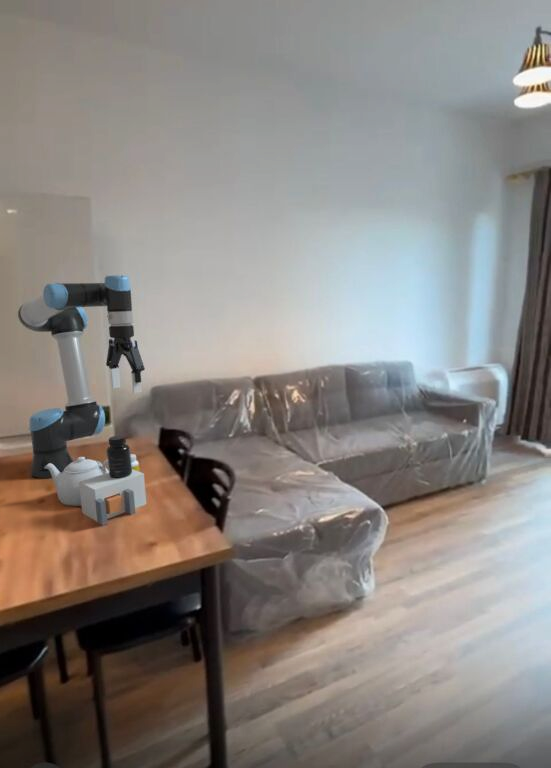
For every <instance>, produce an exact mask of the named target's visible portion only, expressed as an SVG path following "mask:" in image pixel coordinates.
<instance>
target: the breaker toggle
mask: <svg viewBox="0 0 551 768" xmlns="http://www.w3.org/2000/svg"><path fill="white" fill-rule="evenodd" d="M104 501H105V504H106V512H108V513H109V514H112V513H115V512H117V511H120V510H123V506H122V497H121V496H119V495H117V494H116V495H113V496H110V497H107V498H104Z"/></svg>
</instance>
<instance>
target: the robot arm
mask: <svg viewBox="0 0 551 768" xmlns="http://www.w3.org/2000/svg"><path fill="white" fill-rule="evenodd" d="M129 278H130V277H129V276H127V275H119V274H118V275H106V276H105V277H104V282H87V283H86V282H81V283H80V282H79V283H75V282H73V283H70V282H69V283H67V282H65V283H64V282H63V283H60V282H54V283H48V284H47V283H46V284H45V285H44V289H43V291H42V294H41V295H40V296H39V297H37V298H36V299H33V300H28V301H25V302H24V303H22V305H21V306H20V307H19V309H18V310H17V316H18V320H19V322H20V323H21V325H22V326H23V327H24V328H26V329H29V330H31V331H34V332H36V333H37V332H39V333H47V332H50V333H51V338H53V339H54V340H56V343H57V348H58V354H59V359H60V364H61V369H62V374H63V380H64V384H65V391H66V395H67V402H66V404H65V405H64V407H65V408H64V409H65V410H63V409H62V408H61V407H54V408H48V409H44V410H39V411H38V412H36V413H33V414H32V415H31V416H30V418H29V431H30V437H31V444H32V445H31V446H32V452H33V455H32V459H31V463H30V464H31V465H30V469H29V471H30V476H31V475H32V476H34V477H33V478H35V477H37V478H36V479H50V478H52V475H51V473H50V471H49V470H48V469H45V468H44V467H45V466H46V465H48V464H49V463H51V464H53V465H54V466H55V467H56V468H57V469H58V471H59V472H61V473H62V472H63V471H64V469H65V468H66V467H67V466H68V465H69V464H70V463H72V462H74V460H73V458H72V456H71V454H70V452H69V451H68V444H67V442H70V441H74V440H78V439H83V438H88V437H90V438H91V437H93V436H96V435H99V434H101V432H103V430H104V428H105V425H106V424H105V423H106V414H105V410H104V407H103V406H102V405H101V404H97V400H96V399H94V398H93V396H92V392H91V388H90V383H89V382H90V381H89V377H88V372H87V371H88V370H87V367H86V366H87V365H86V361H85V356H84V355H85V354H84V349H83V344H82V339H81V337H82V336H83V334H84V333H85V332H84V330H85V329H86V328H87V326H88V316H87V313H86V310H85V308H90V307H91V308H93V307H94V308H96V307H106V310H107V320H108V324H109V327H108V329H109V330H108V332H109V333H108V334H109V338H110V339H108V351H107V357H106V362H105V363H106V367H108V368H109V370H110V376H111V377H110V378H111V388H112V389H117V388H121V387H122V386H121V375H120V365H119V363H120V361H121V358H122V356H124V357H125V358H126V360H127V362H128V365H129V367H130V369H131V372H130V374H131V382H132V384H131V385H132V393H133V394H139V393H142V392H143V390H142V389H143V388H142V375H141V374H142V371H145V365H144V361H143V360H142V356H141V354H140V350H139V347H138V341H137V340H132V339H131V338H133V337H135V327H134V325H132V324H133V323H134V318H133V316H134V315H133V306H132V305H133V304H132V303H133V302H132V293H131V292H132V291H131V290H132V287H131V283H130V279H129ZM32 476H31V477H32Z"/></svg>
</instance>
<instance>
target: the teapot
mask: <svg viewBox="0 0 551 768" xmlns="http://www.w3.org/2000/svg"><path fill="white" fill-rule="evenodd" d="M107 464H108V460H107V458H106V459H105V460H104V461H103V462H100V461H98V460H94V459H88V458H87V459H86V457H85V456H79V457H77V458H76V460H75V461H74V460H73V462H72V463H70V464H69V465H68V466H67V467H66V468H65V469H64V471H63V472H62V473H61V472H59V471H58V469H57V468H56V467H55V466H54V465H53V464H51V463H49V464H48V465H46V466H45V467H44V468H45V469H48V470H49V471H50V473H51V475H52V477H51V478H52V481H53V484H54V486H55V488H56V494H57V498H58V500H59V501H60V503H62V504H63V505H66V506H69V507H70V506H72V507H82V505H81V496H80V487H79V482H80V481H83V480H86V479H89V478H93V477H96V476H99V475H102V474H106V473H109V469H108V468H107V467H106V466H107Z"/></svg>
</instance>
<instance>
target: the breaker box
mask: <svg viewBox="0 0 551 768" xmlns="http://www.w3.org/2000/svg"><path fill="white" fill-rule="evenodd" d="M79 487H80V496H81V505H82V506H81V512H82V514H84V516H87V517H89V518H90V519H91V520H93V521H95V522H97V524H99V525H101V526H102V527H104V526H106V525H108V520H109V519H110V518H111V519H112V518H114V517H116V516H119V515H122V514H124V513H126V514H128V515H130V516H131V515H134V514H136V509H138V508H140V507H142V506H143V507H144V506H145V505H147V495H146V492H147V491H146V483H145V473H143V472H141V471H139V472H138V471H136V470H133V469H132V473H131V475H129V476H127V477H124V478H112V477H110V475H109V473H106V474H102V475H99V476H96V477H93V478H89V479H86V480H83V481H80V482H79ZM116 494H117V495H119V496H121V497H122V506H123V510H120V511H117V512H115V513H112V514H109V513H108V512H106V504H105V501H104V498H107V497H110V496H113V495H116Z"/></svg>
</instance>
